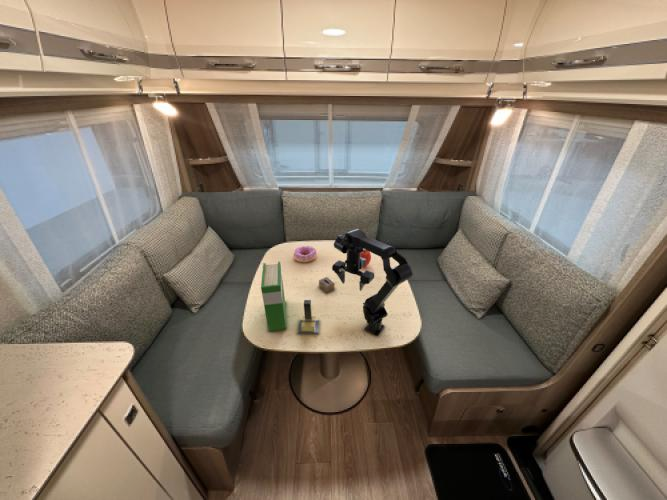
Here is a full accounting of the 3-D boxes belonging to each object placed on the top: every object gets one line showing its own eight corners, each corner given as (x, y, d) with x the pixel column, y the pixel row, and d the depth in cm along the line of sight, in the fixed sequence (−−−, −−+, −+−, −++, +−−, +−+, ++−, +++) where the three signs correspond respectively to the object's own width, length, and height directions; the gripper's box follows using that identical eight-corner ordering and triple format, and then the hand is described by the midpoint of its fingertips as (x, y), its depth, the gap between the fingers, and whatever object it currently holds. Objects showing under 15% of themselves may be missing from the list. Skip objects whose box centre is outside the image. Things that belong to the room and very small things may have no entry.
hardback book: (270, 304, 131) (263, 263, 119) (285, 302, 132) (280, 261, 120) (268, 331, 116) (260, 287, 104) (285, 329, 117) (280, 285, 105)
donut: (292, 253, 172) (291, 246, 169) (313, 250, 176) (313, 243, 173) (296, 265, 160) (295, 258, 158) (319, 261, 164) (319, 254, 161)
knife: (312, 324, 118) (311, 299, 111) (312, 328, 116) (310, 303, 109) (305, 324, 118) (303, 299, 111) (305, 328, 116) (303, 303, 109)
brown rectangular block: (334, 289, 140) (334, 283, 138) (326, 292, 138) (326, 286, 136) (326, 282, 145) (326, 276, 143) (319, 286, 143) (318, 280, 141)
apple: (361, 260, 164) (362, 245, 159) (373, 265, 160) (374, 250, 154) (353, 266, 159) (354, 251, 153) (365, 272, 154) (366, 256, 148)
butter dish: (319, 321, 120) (318, 315, 119) (317, 333, 114) (317, 327, 112) (300, 321, 121) (300, 315, 119) (298, 333, 114) (297, 327, 113)
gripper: (381, 256, 115) (378, 284, 122) (345, 244, 124) (344, 271, 132) (369, 268, 107) (366, 298, 115) (331, 254, 116) (331, 283, 124)
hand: (352, 286), depth 121 cm, fingers open, 9 cm apart
